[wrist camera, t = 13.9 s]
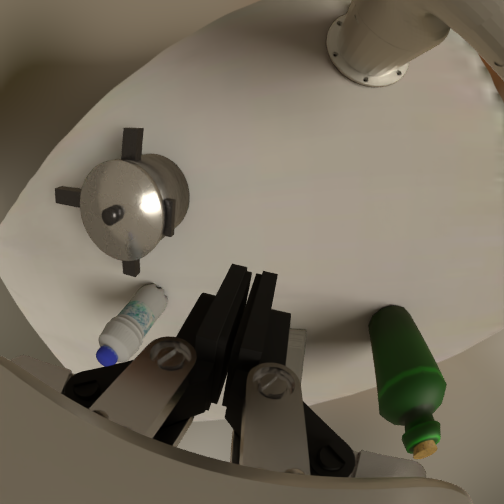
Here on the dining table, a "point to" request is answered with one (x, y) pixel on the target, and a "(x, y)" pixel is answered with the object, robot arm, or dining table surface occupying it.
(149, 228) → the lid
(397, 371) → the bottle
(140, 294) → the bottle
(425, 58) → the dining table surface
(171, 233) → the cooker
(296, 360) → the skincare box
